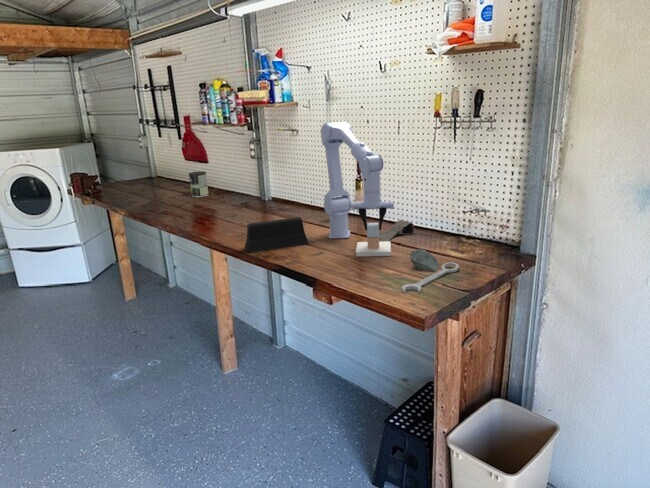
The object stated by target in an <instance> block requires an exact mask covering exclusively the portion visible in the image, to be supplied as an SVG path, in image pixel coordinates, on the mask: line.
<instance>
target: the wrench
mask: <svg viewBox="0 0 650 488" xmlns="http://www.w3.org/2000/svg"><path fill="white" fill-rule="evenodd" d="M447 267H453V268H447ZM459 269H460V266H459V264H458V263H456V262H446V263H444V264H442V265H441V270H439V271H436V272H435V273H433V274H431V275H429V276H428V277H425V278H424V279H421V280H420V281H418V282H415V283H409V284H408V283H407V284H404V285H402V286H401V292H403V293H404V294H405V293H406V291H409V290H415V291H417V294H419V293H421V292H422V287H423V286H425V285H427V284H429V283H431V282H433V281H435V280H437V279H438V278H440V277H442V276H444V275H446V274H448V273H455V272H457V271H458V270H459Z"/></svg>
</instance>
